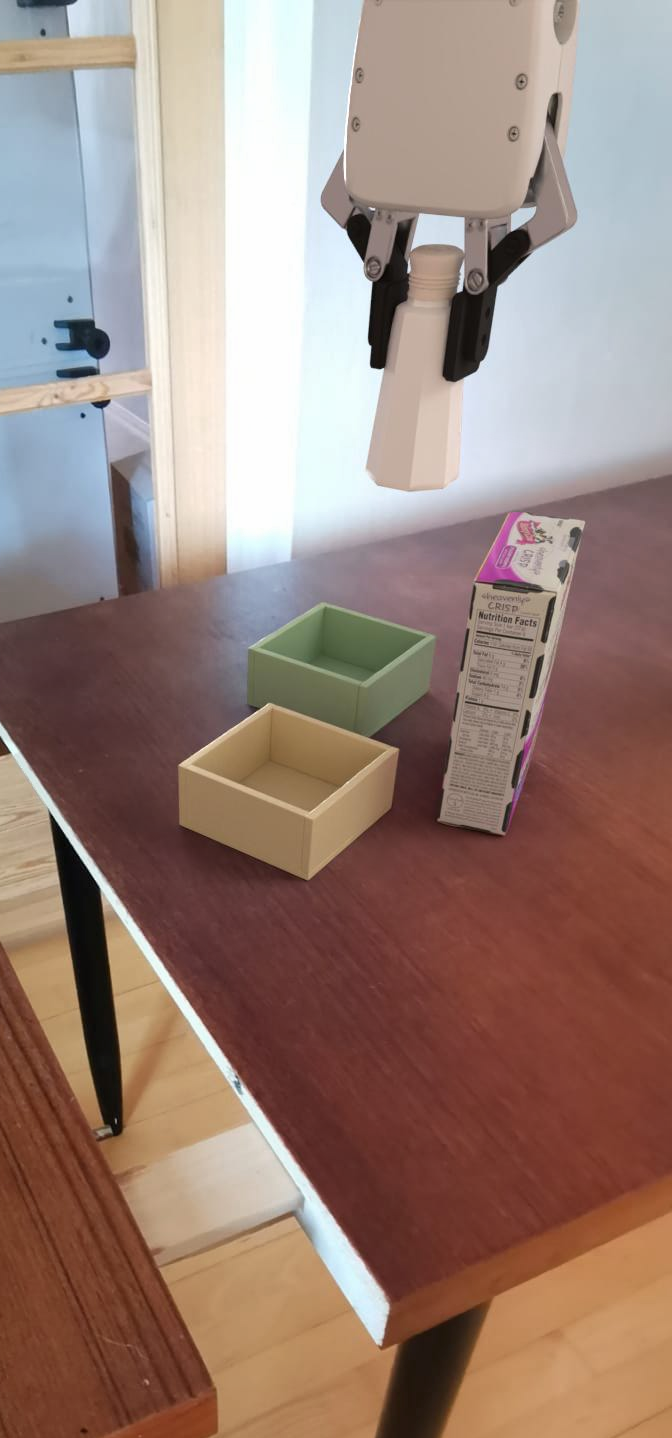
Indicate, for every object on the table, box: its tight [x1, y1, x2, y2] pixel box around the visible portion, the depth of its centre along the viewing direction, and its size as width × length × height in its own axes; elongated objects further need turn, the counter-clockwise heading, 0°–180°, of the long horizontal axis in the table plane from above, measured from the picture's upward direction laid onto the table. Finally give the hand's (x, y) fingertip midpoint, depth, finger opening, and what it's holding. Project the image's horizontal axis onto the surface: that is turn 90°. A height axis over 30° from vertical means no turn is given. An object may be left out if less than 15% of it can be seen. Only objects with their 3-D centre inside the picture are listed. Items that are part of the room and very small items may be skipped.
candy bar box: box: [436, 511, 586, 837], centre depth 69 cm, size 11×5×16 cm, turn 158°
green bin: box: [246, 601, 437, 738], centre depth 83 cm, size 10×10×4 cm
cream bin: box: [177, 703, 400, 881], centre depth 71 cm, size 10×10×4 cm
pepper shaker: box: [364, 243, 465, 493], centre depth 60 cm, size 5×5×11 cm
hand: (424, 365), depth 60 cm, fingers closed on pepper shaker, 3 cm apart
